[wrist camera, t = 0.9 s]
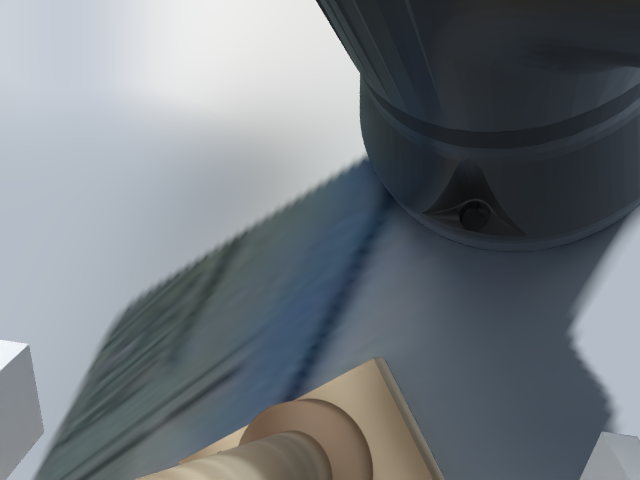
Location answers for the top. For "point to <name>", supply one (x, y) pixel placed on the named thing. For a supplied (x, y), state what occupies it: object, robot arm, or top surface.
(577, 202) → the robot arm
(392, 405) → the board
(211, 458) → the wooden peg with base
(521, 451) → the top surface
